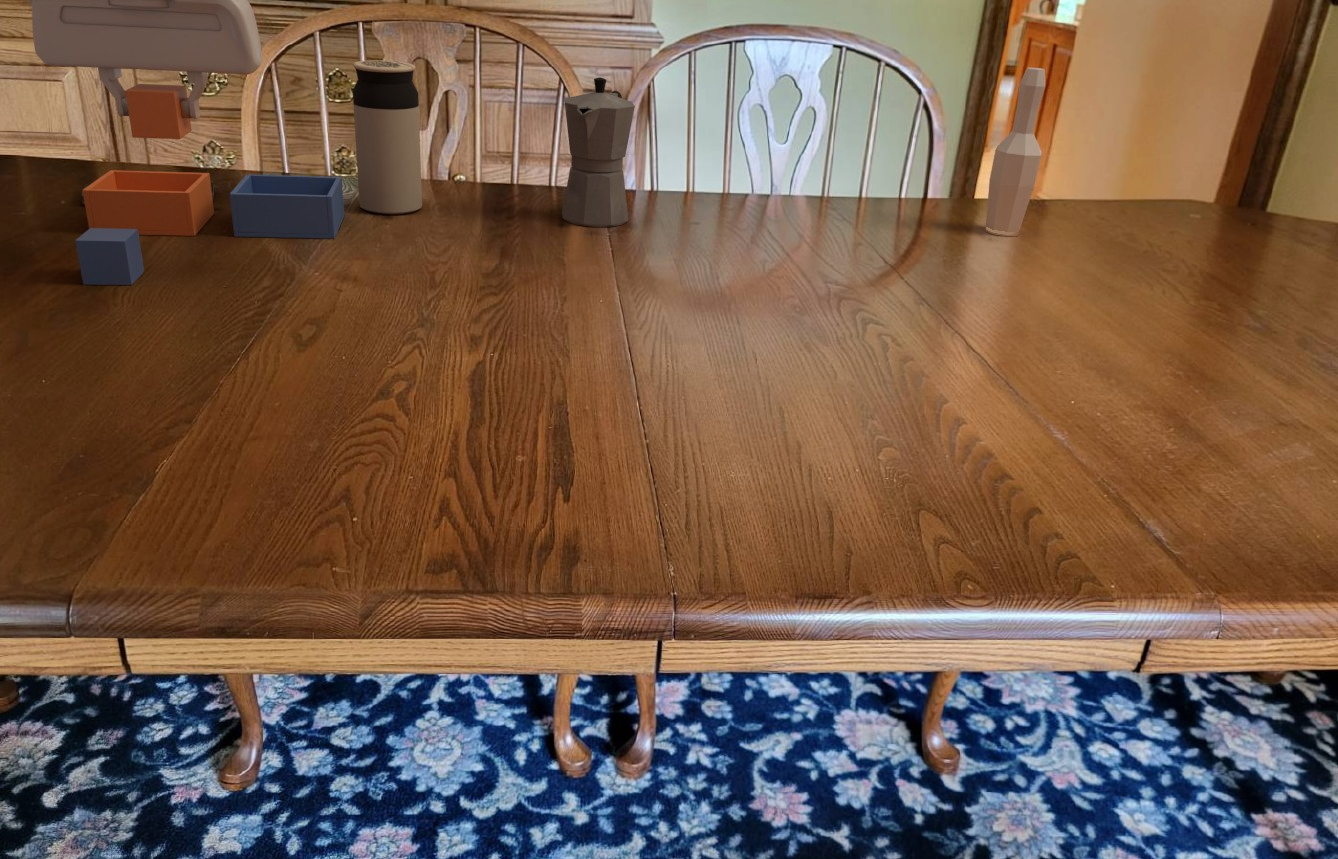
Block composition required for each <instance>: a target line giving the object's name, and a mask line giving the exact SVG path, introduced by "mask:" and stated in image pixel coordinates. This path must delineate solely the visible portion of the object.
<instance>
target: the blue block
mask: <svg viewBox="0 0 1338 859" xmlns="http://www.w3.org/2000/svg"><path fill="white" fill-rule="evenodd" d="M75 246H76V253H77V257H78V264H79V269H80V274H81V281H82V284H83V286H86V285H87V286H90V285H91V286H93V285H94V286H133V285H134V284H135V282H136V281H137V280H139V278H140V277H141V276H142V275H143V274H144V273H145V266H144V260H143V259H144V258H143V254H142V246H141V241H140V235H139V233H138V229H109V228H90V229H89V228H88V229H87V230H86V231H85V232H83V233H82V234H81V235H80V236H79V237H77V238H76V239H75Z"/></svg>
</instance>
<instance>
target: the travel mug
mask: <svg viewBox="0 0 1338 859" xmlns="http://www.w3.org/2000/svg"><path fill="white" fill-rule="evenodd" d="M352 66H353V68H354V69H355V72H356V78H357V80H356V82H355V85H354V87H353V89H352V100H353V101H352V102H353V117H354V118H353V119H354V120H353V121H354V138H355V151H356V152H355V154H356V169H357V186H358V203H359V205H358V206H359V207H360V208H362V209H363V210H365V211H367V212H369V213H372V214H378V215H389V216H390V215H392V216H393V215H395V216H396V215H404V214H405V215H406V214H411V213H413V212H416V211H418V210H420V209H421V208H422V207H423V189H422V187H423V186H422V159H421V156H422V155H421V135H420V134H421V131H420V130H421V128H420V102H419V101H420V100H419V98H420V97H419V91H418V90H417V88H416V86H415V83H414V82H413V78H414V71H415V70H416V65H414V64H413V63H409V62H405V61H395V60H381V59H379V60H377V59H374V60H372V59H371V60H369V59H368V60H359V61H355V62H354V63H352Z"/></svg>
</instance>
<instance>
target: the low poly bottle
mask: <svg viewBox="0 0 1338 859" xmlns="http://www.w3.org/2000/svg"><path fill="white" fill-rule="evenodd" d="M1045 88H1046V71H1045V68H1040V67H1027V68H1026V69H1025V72H1024V74H1023V76H1022V78H1021V79H1020V81H1019V86H1018V95H1017V104H1016V110H1015V114H1014V121H1013V125H1012V130H1010V131H1011V132H1009V133H1008V135H1006V136H1005V137H1004V139H1002V141H1001V142H1000V143H999V144H998V145H997V146H996V147H995V150H994V151H995V152H994V156H993V161H992V166H991V170H990V176H989V182H988V194H987V195H988V196H987V206H986V220H985V228H986V227H988V228H990V229H992V230H998V231H1005V232H1019V233H1020V230H1021V227H1022V224H1023V220H1024V218H1025V215H1026V212H1027V210H1028V206H1029V203H1030V201H1031V197H1032V194H1033V191H1034V188H1035V185H1036V183H1037V177H1038V173H1039V169H1040V164H1041V158H1042V154H1043V151H1042V150H1041V147H1040V145H1039V142H1038V140H1037V138H1036V136H1035V133H1034V132H1035V127H1036V122H1037V118H1038V114H1039V113H1038V112H1039V108H1040V106H1041V101H1042V98H1043V95H1044V92H1045ZM985 232H987V233H989V234H991V235H995V236H1002V237H1019V234H1018V235H1002V234H995V233H992V232H990V231H988V230H986V229H985Z"/></svg>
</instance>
